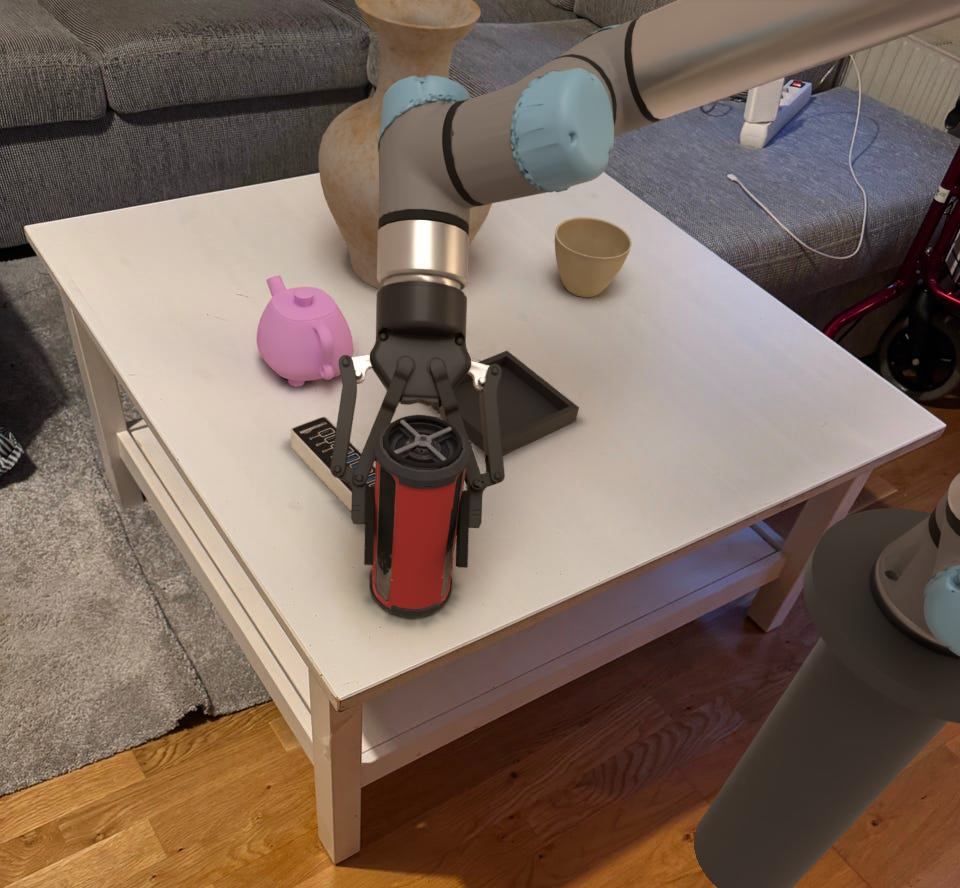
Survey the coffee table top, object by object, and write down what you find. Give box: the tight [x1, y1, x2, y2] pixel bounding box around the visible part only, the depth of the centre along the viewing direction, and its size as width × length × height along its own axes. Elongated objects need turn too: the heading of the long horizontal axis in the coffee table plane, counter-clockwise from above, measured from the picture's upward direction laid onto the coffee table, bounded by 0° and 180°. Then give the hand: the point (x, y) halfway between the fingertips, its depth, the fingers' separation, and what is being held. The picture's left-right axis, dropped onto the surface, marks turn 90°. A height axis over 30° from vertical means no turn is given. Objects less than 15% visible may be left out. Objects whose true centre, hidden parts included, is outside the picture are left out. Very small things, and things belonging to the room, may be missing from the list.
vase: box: [317, 0, 493, 290], centre depth 110 cm, size 22×22×30 cm
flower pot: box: [554, 216, 633, 298], centre depth 120 cm, size 10×10×7 cm
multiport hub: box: [289, 416, 376, 527], centre depth 94 cm, size 4×14×2 cm, turn 39°
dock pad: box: [431, 350, 580, 457], centre depth 104 cm, size 13×13×2 cm
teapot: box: [256, 274, 354, 387], centre depth 102 cm, size 10×15×9 cm
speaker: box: [368, 414, 470, 618], centre depth 79 cm, size 8×8×18 cm
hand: (415, 565), depth 78 cm, fingers closed on speaker, 7 cm apart
